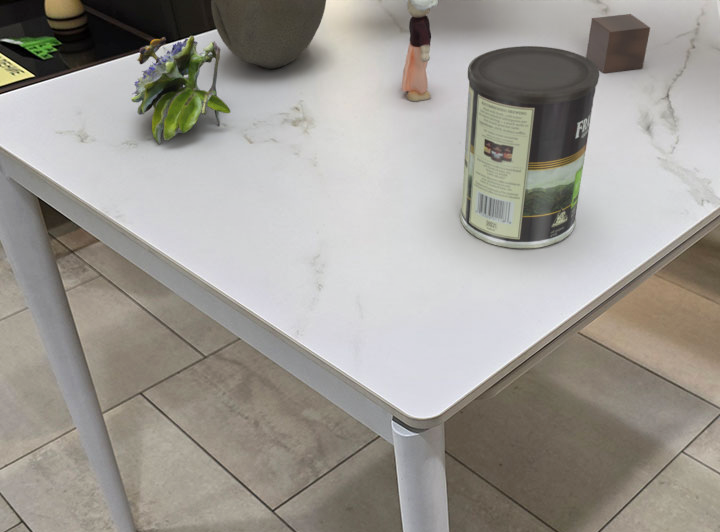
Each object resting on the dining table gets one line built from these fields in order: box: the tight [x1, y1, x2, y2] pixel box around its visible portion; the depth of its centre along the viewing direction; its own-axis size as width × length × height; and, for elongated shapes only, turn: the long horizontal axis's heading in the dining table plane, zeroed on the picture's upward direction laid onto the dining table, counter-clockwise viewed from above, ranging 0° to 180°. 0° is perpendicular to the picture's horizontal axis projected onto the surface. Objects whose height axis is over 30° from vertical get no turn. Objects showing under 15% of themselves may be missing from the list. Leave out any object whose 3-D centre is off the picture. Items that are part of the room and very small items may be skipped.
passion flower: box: [130, 35, 231, 145], centre depth 94 cm, size 11×11×12 cm
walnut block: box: [585, 13, 651, 74], centre depth 102 cm, size 5×5×5 cm
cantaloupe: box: [210, 0, 327, 69], centre depth 104 cm, size 14×14×15 cm
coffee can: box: [459, 45, 600, 250], centre depth 73 cm, size 10×10×14 cm
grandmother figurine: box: [400, 0, 439, 102], centre depth 95 cm, size 8×4×13 cm, turn 13°
